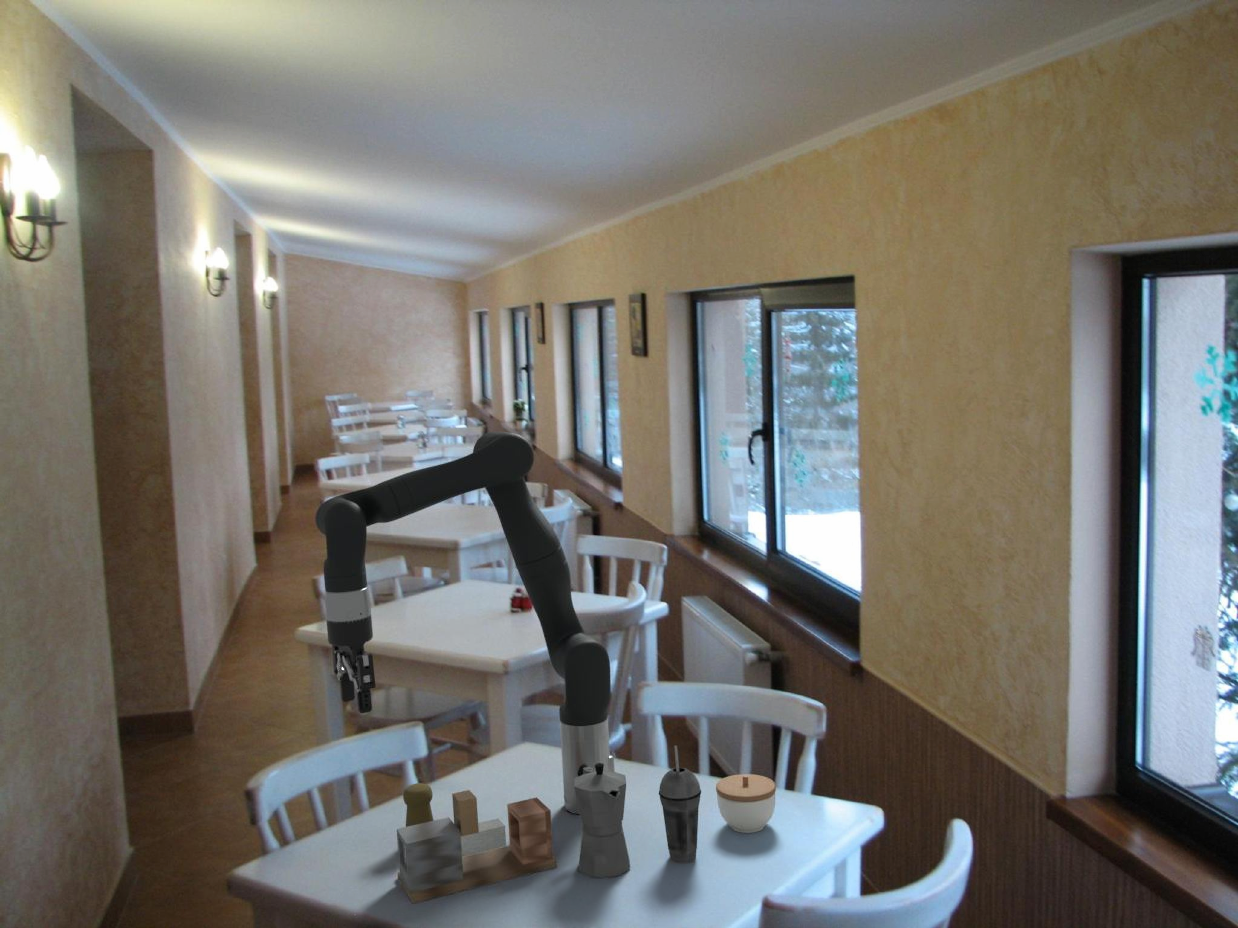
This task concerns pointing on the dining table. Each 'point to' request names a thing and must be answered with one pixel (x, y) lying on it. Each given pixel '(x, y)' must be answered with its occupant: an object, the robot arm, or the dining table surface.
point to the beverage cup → (680, 812)
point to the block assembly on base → (446, 871)
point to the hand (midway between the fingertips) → (356, 706)
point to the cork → (418, 804)
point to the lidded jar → (746, 801)
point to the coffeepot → (601, 822)
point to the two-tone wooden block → (474, 827)
